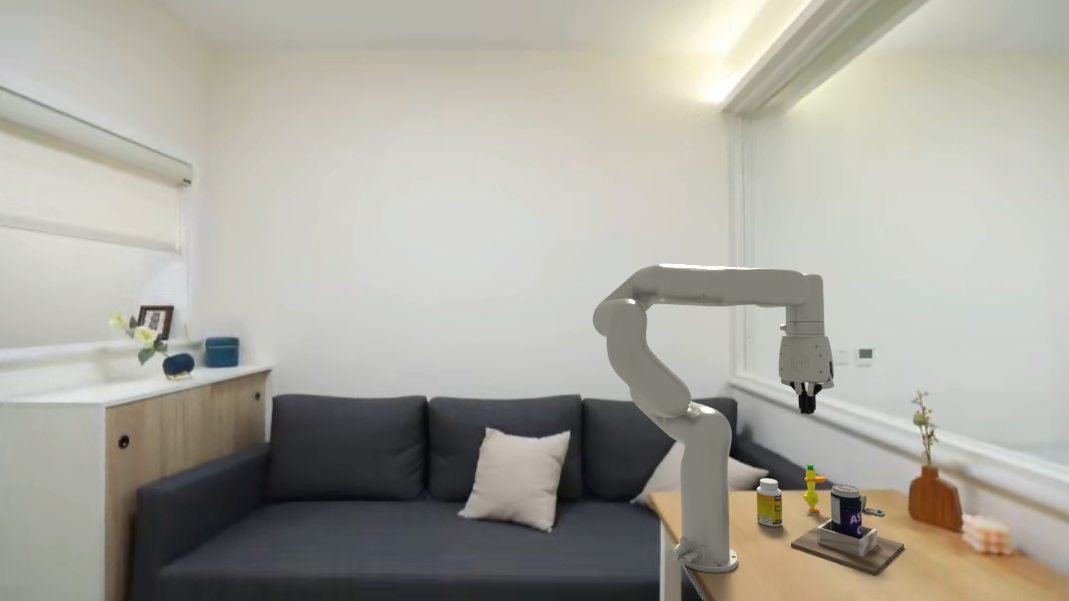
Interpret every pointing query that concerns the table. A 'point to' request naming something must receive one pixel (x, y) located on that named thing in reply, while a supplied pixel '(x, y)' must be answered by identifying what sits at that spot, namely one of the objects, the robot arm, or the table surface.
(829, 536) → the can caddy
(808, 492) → the toy figure
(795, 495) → the table surface
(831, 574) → the table surface
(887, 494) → the table surface
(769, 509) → the supplement bottle
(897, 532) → the table surface
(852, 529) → the beverage can
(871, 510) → the strap clip
